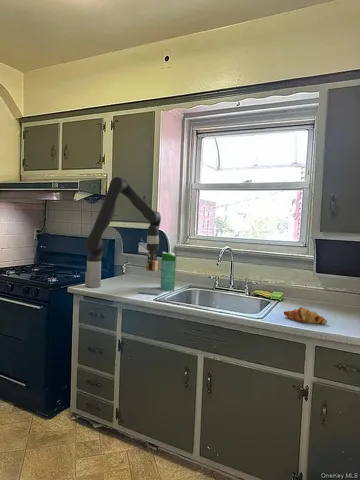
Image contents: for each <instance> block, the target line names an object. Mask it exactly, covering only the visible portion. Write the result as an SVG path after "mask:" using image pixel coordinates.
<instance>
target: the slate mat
mask: <svg viewBox="0 0 360 480" xmlns="http://www.w3.org/2000/svg"><path fill="white" fill-rule="evenodd" d="M163 292H164V290H162V289H161V288H149V287H144V288H142V289H140V290H139V291H138V292H137V294H139V295H149V296H150V295H151V296H152V295H153V296H159V295H161V294H162V293H163Z"/></svg>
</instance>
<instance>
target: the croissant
mask: <svg viewBox="0 0 360 480" xmlns="http://www.w3.org/2000/svg"><path fill="white" fill-rule="evenodd" d="M283 315H284V316H285V317H287V318H288V319H289V320H291V321H294V322H295V321H296V322H298V321H300V322H299V323H303V322H306V324H313V323H318V324H320V325H325V324H327V323H328V320H327V319H325V317H323V316H322V315H321V316H320V314H318V313H317V312H316V311H311V310H310V309H308V308H306V307H299V308H298V309H296V308H295V309H293V310H286V311H284V310H283Z"/></svg>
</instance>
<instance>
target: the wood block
mask: <svg viewBox="0 0 360 480" xmlns="http://www.w3.org/2000/svg"><path fill="white" fill-rule="evenodd" d="M150 261H151V260H150ZM145 262H146V263H145V271H146V272H157V271H158V269H159V268H158V267H159V260H157V261H153V264H152V270H149V264H148V260H146V261H145Z"/></svg>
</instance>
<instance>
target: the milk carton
mask: <svg viewBox="0 0 360 480" xmlns="http://www.w3.org/2000/svg"><path fill="white" fill-rule="evenodd" d="M176 256H177V255H176V254H175V253H174V252H170V251H169V252H166V251H162V252H161V272H160V274H161V275H160V289H162V290H163V291H169V292H170V291H173V292H174V291H175V281H176V280H175V279H176V262H177V261H176V259H177V257H176Z"/></svg>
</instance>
